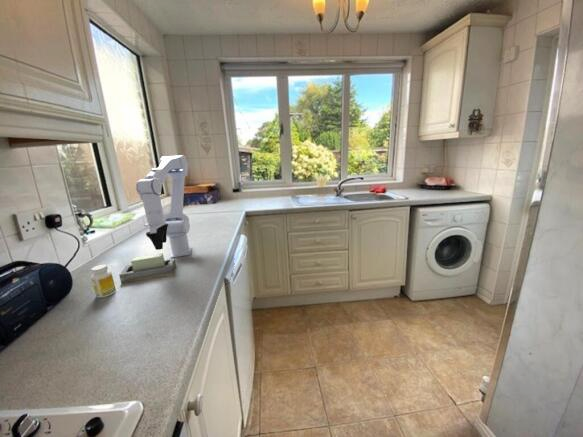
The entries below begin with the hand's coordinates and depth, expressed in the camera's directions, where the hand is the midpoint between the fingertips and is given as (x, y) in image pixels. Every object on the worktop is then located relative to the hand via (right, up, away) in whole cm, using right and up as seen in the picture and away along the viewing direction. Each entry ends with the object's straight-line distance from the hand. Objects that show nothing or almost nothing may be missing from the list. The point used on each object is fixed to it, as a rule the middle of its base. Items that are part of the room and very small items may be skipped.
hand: (161, 245), depth 97 cm
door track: (-3, -10, -2) cm, 11 cm away
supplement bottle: (-11, -14, -14) cm, 23 cm away
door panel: (-3, -10, -2) cm, 10 cm away
